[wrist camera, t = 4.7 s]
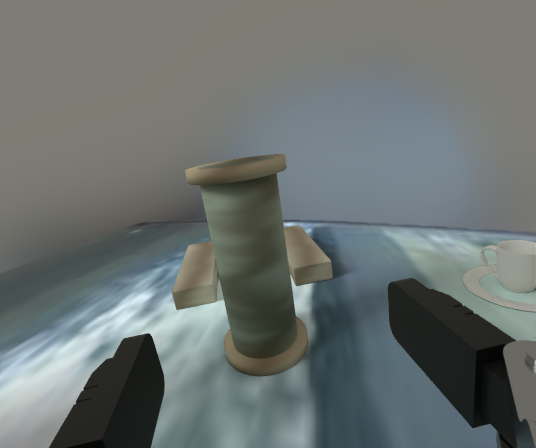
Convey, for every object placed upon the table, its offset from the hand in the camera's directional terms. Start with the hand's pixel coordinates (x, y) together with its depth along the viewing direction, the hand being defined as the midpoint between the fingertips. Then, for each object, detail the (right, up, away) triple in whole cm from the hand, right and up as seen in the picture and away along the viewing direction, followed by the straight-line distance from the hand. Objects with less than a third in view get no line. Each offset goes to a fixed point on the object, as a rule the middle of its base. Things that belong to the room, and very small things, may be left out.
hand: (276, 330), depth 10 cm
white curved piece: (+20, -3, +13) cm, 25 cm away
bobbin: (0, -6, +13) cm, 15 cm away
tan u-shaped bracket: (-2, -2, +28) cm, 28 cm away
